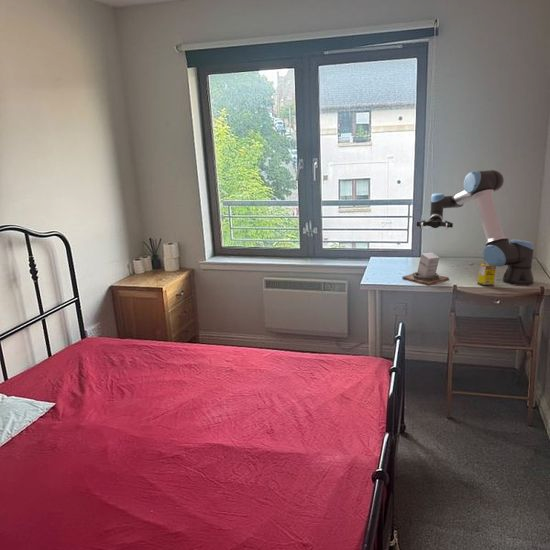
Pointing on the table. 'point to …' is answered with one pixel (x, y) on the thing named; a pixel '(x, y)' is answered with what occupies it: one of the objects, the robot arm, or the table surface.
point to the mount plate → (427, 282)
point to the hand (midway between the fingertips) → (433, 226)
